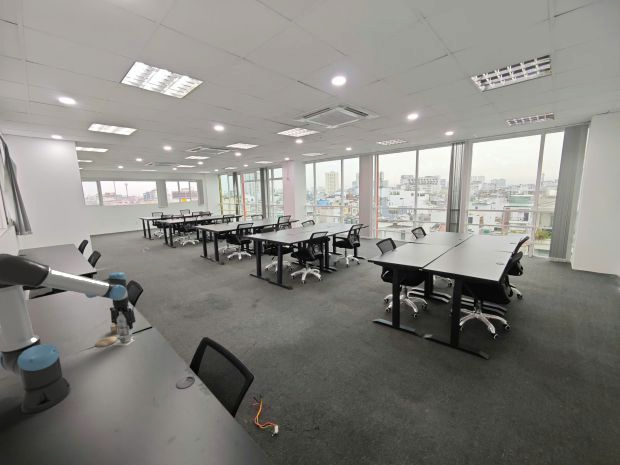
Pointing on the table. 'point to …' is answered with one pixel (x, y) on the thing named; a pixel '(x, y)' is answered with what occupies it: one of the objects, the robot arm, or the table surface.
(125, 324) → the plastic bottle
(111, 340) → the cork coaster
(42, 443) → the table surface
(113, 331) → the oak block
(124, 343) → the card
